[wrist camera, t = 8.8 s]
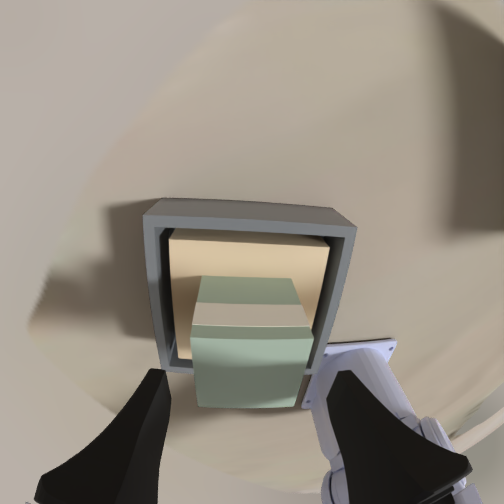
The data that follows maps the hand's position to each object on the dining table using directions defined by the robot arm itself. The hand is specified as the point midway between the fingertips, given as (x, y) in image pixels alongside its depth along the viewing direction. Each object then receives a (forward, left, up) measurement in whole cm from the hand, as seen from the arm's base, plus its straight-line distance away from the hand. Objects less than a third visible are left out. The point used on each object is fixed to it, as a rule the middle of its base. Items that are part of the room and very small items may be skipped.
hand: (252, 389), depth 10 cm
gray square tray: (0, 0, -10) cm, 10 cm away
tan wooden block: (0, 0, -9) cm, 9 cm away
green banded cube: (0, 0, -6) cm, 6 cm away
